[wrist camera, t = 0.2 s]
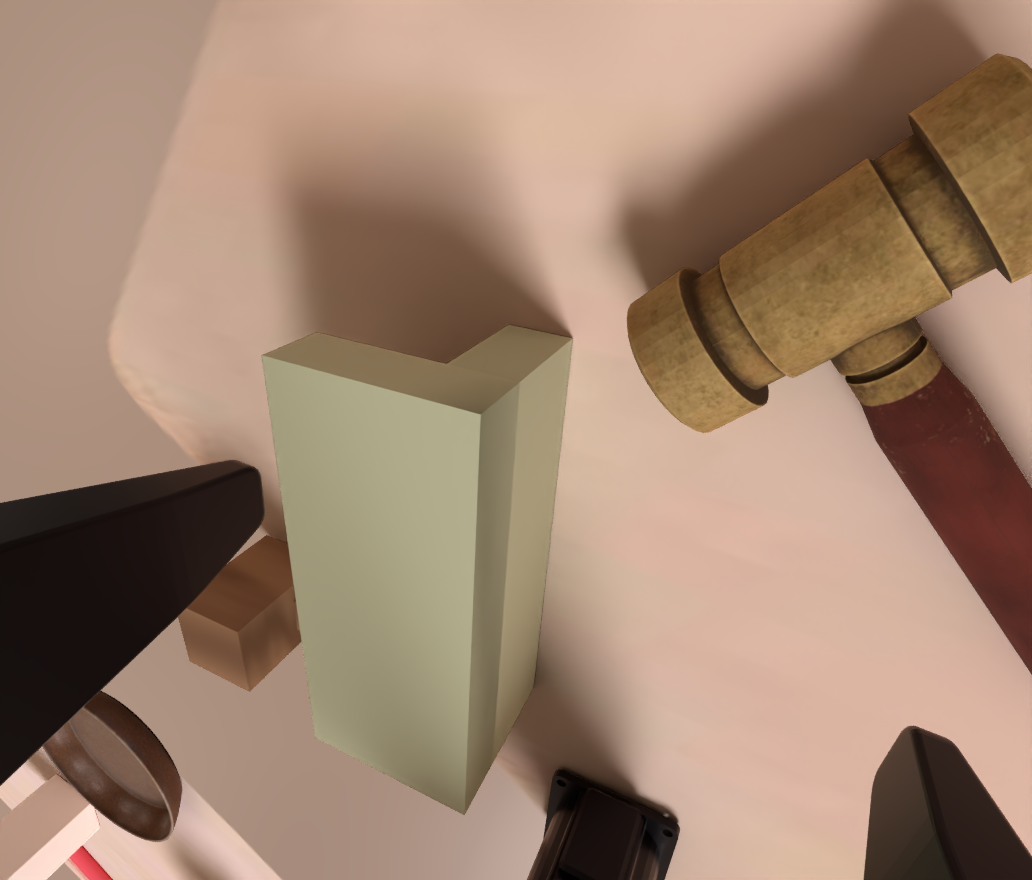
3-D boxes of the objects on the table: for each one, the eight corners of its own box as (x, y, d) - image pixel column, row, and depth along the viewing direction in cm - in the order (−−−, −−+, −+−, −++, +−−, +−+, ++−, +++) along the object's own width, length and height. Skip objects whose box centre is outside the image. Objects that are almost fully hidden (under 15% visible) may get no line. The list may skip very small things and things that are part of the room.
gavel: (1459, 826, 15) (981, 847, 21) (1333, 677, 19) (957, 730, 24) (1037, 44, 11) (605, 333, 17) (983, 48, 15) (642, 286, 21)
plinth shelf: (533, 687, 31) (464, 815, 25) (404, 632, 34) (315, 737, 28) (573, 338, 22) (480, 414, 17) (394, 300, 25) (261, 355, 19)
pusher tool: (479, 677, 33) (415, 776, 28) (275, 590, 37) (189, 661, 32) (481, 620, 31) (413, 715, 26) (266, 535, 35) (174, 602, 30)
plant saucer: (81, 642, 53) (45, 667, 51) (225, 793, 54) (195, 825, 52) (44, 700, 64) (12, 724, 61) (165, 827, 65) (138, 855, 62)
